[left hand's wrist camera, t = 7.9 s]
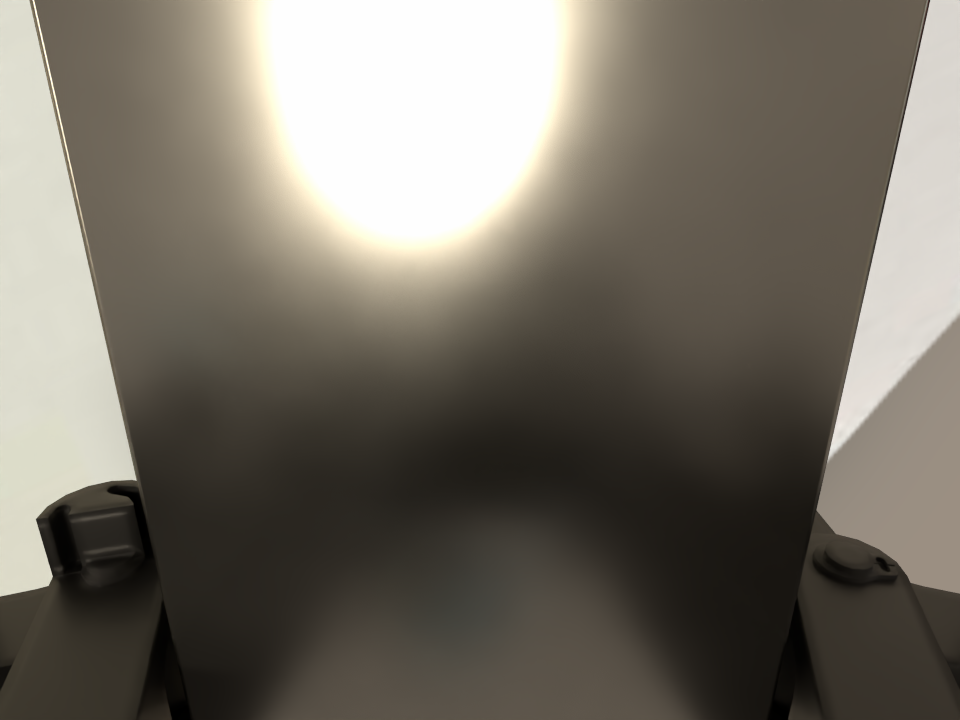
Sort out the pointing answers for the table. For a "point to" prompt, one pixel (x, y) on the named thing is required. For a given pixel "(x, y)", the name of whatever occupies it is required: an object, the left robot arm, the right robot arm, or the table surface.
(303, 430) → the bar
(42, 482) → the table surface
